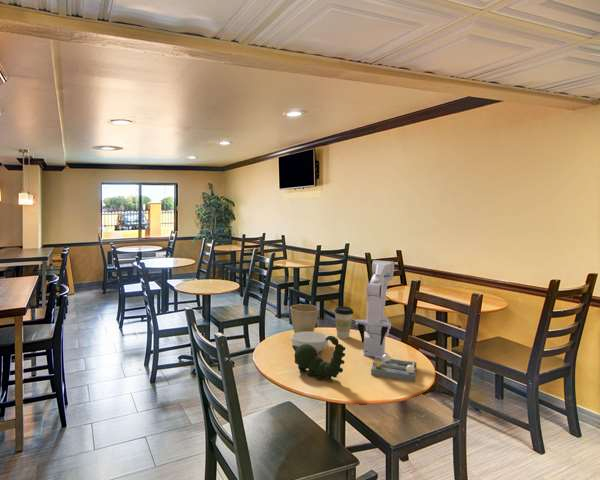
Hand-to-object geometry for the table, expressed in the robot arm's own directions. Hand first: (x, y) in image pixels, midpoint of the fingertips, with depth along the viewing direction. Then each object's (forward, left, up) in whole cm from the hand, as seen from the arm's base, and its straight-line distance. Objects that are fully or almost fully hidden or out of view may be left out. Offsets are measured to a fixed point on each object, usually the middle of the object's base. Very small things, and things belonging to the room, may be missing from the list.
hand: (372, 343), depth 166 cm
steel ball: (+6, 0, -6) cm, 9 cm away
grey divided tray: (+10, -1, -10) cm, 14 cm away
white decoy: (+16, -6, -6) cm, 18 cm away
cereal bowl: (-30, +8, -11) cm, 33 cm away
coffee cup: (-20, +35, -11) cm, 42 cm away
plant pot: (-38, +24, -11) cm, 46 cm away
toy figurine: (-20, -17, -11) cm, 28 cm away
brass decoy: (+4, -6, -6) cm, 9 cm away
